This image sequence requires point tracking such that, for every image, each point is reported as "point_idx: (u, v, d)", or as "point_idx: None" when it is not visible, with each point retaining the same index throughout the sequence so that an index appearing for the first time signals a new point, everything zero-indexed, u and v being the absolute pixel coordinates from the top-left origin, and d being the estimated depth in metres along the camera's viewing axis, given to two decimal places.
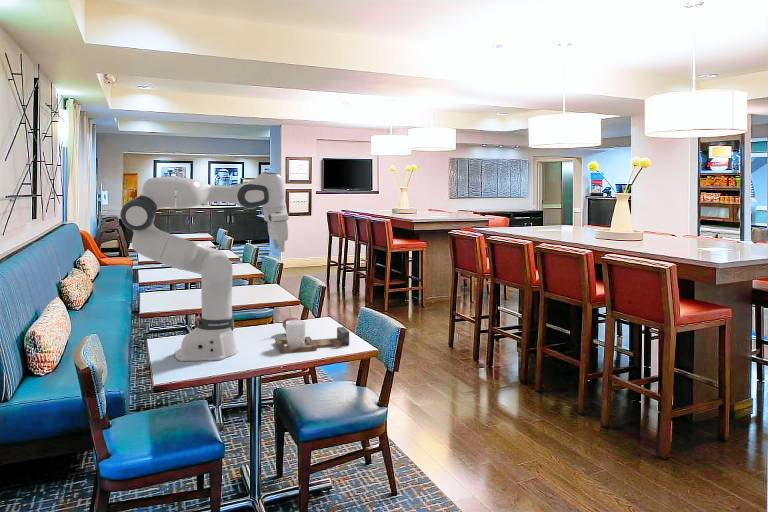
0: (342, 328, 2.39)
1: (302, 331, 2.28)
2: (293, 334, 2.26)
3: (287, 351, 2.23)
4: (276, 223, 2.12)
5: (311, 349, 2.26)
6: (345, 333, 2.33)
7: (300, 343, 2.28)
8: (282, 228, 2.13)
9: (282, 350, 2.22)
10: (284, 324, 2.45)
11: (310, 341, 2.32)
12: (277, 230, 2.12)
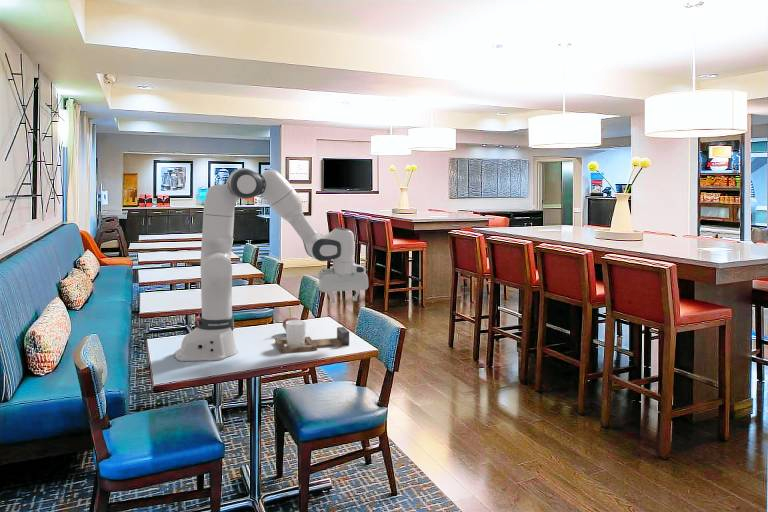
0: (342, 328, 2.39)
1: (302, 331, 2.28)
2: (293, 334, 2.26)
3: (287, 351, 2.23)
4: (365, 273, 2.34)
5: (311, 349, 2.26)
6: (345, 333, 2.33)
7: (300, 343, 2.28)
8: None
9: (282, 350, 2.22)
10: (284, 324, 2.45)
11: (310, 341, 2.32)
12: (367, 279, 2.35)
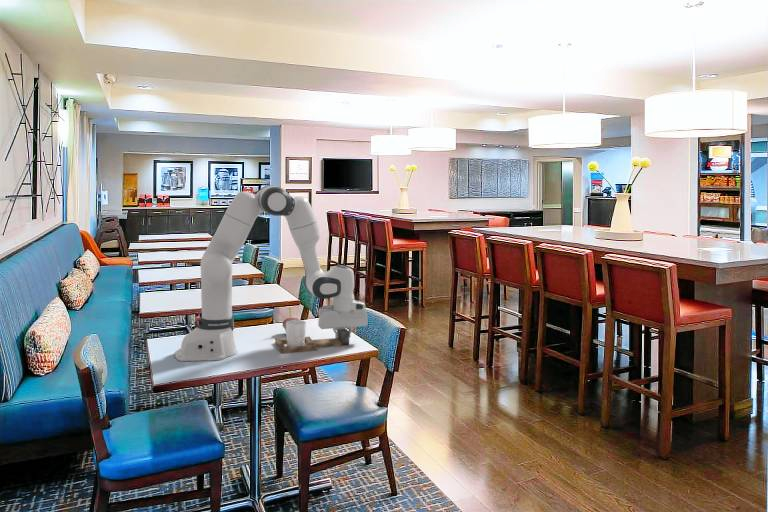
0: (342, 328, 2.39)
1: (302, 331, 2.28)
2: (293, 334, 2.26)
3: (287, 351, 2.23)
4: (365, 310, 2.37)
5: (311, 349, 2.26)
6: (345, 333, 2.33)
7: (300, 343, 2.28)
8: None
9: (282, 350, 2.22)
10: (284, 324, 2.45)
11: (310, 341, 2.32)
12: None
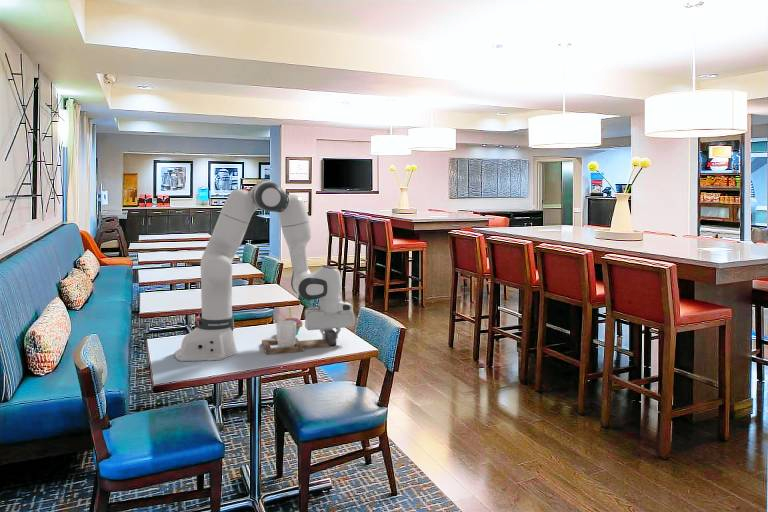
0: (329, 329, 2.37)
1: (293, 331, 2.26)
2: (284, 335, 2.25)
3: (273, 352, 2.21)
4: (352, 311, 2.35)
5: (297, 350, 2.24)
6: (332, 334, 2.31)
7: (290, 344, 2.26)
8: None
9: (268, 351, 2.20)
10: None
11: (297, 342, 2.31)
12: (354, 317, 2.35)
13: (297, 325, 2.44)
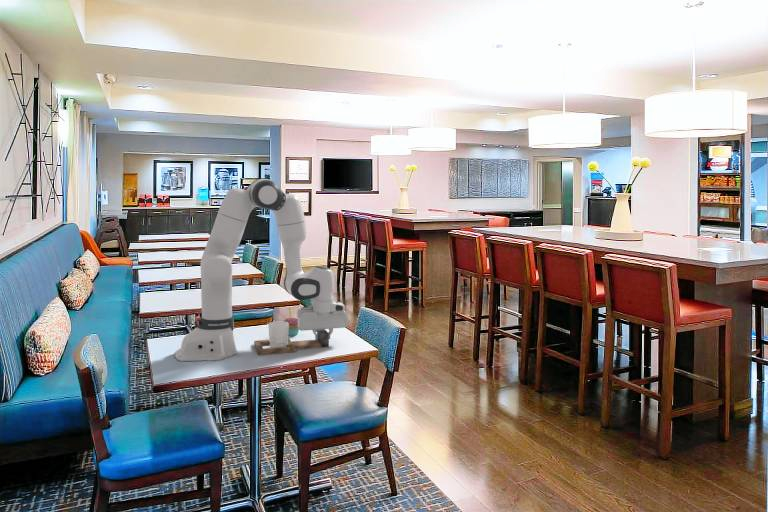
0: (322, 329, 2.36)
1: (286, 332, 2.25)
2: (276, 336, 2.24)
3: (265, 353, 2.20)
4: None
5: (289, 351, 2.23)
6: (324, 335, 2.30)
7: (283, 345, 2.25)
8: None
9: (260, 352, 2.19)
10: None
11: (289, 343, 2.30)
12: None
13: (297, 325, 2.44)
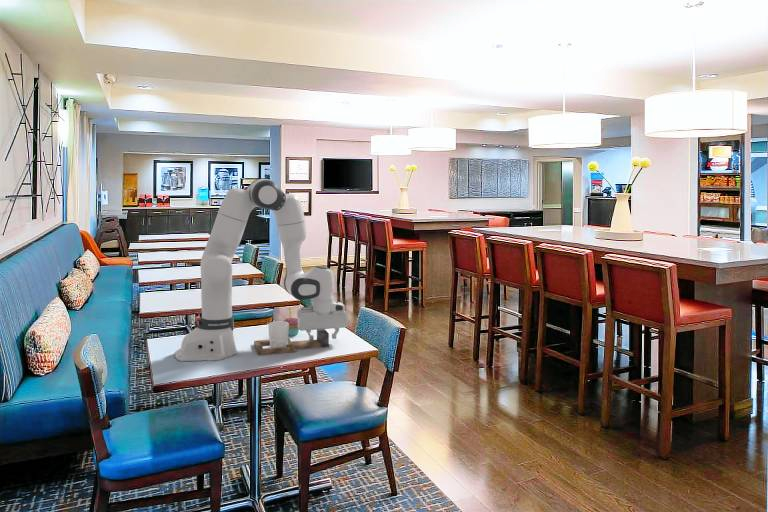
0: (322, 329, 2.36)
1: (286, 332, 2.25)
2: (276, 336, 2.24)
3: (265, 353, 2.20)
4: None
5: (289, 351, 2.23)
6: (324, 335, 2.30)
7: (283, 345, 2.25)
8: None
9: (260, 352, 2.19)
10: None
11: (289, 343, 2.30)
12: None
13: (297, 325, 2.44)
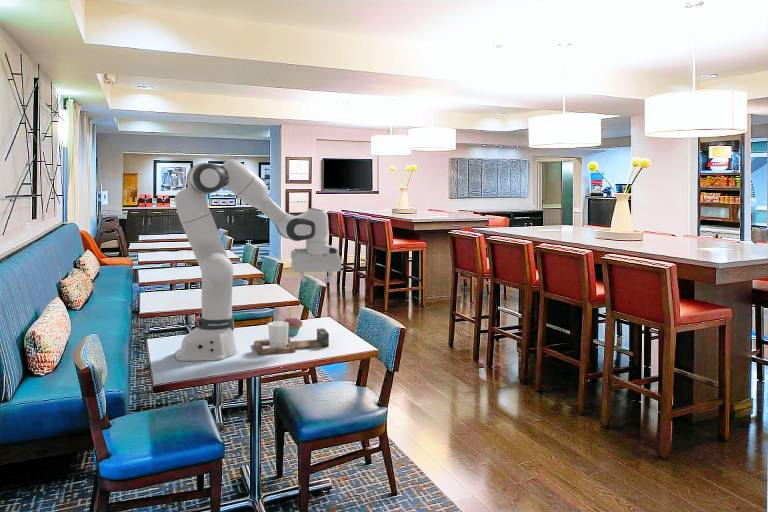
0: (322, 329, 2.36)
1: (286, 332, 2.25)
2: (276, 336, 2.24)
3: (265, 353, 2.20)
4: (338, 255, 2.35)
5: (289, 351, 2.23)
6: (324, 335, 2.30)
7: (283, 345, 2.25)
8: None
9: (260, 352, 2.19)
10: None
11: (289, 343, 2.30)
12: (340, 261, 2.35)
13: (297, 325, 2.44)
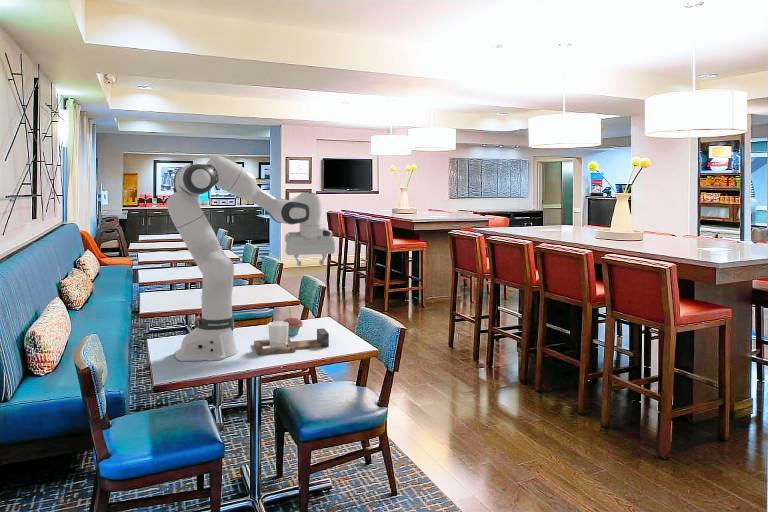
0: (322, 329, 2.36)
1: (286, 332, 2.25)
2: (276, 336, 2.24)
3: (265, 353, 2.20)
4: None
5: (289, 351, 2.23)
6: (324, 335, 2.30)
7: (283, 345, 2.25)
8: None
9: (260, 352, 2.19)
10: None
11: (289, 343, 2.30)
12: None
13: (297, 325, 2.44)
